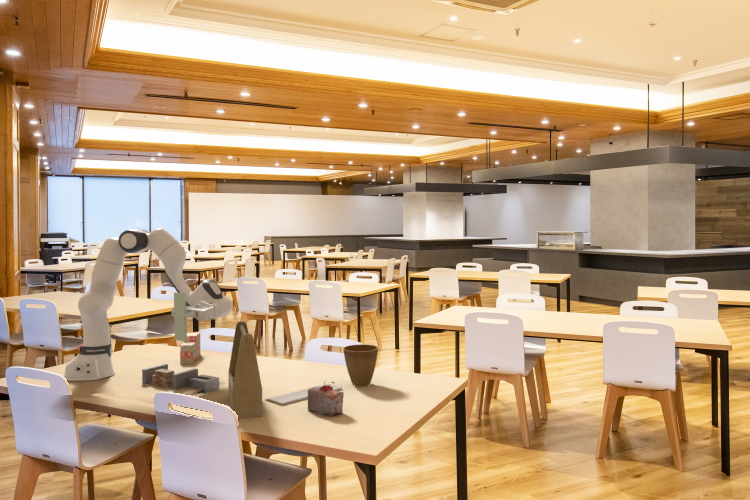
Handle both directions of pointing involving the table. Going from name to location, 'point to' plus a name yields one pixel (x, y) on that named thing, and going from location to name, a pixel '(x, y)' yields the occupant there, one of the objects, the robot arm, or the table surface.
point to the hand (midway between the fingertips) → (178, 314)
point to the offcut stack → (163, 378)
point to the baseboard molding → (296, 396)
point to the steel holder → (204, 383)
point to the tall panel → (180, 316)
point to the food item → (325, 400)
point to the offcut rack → (177, 378)
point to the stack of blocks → (190, 348)
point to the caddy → (244, 375)
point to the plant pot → (360, 363)
